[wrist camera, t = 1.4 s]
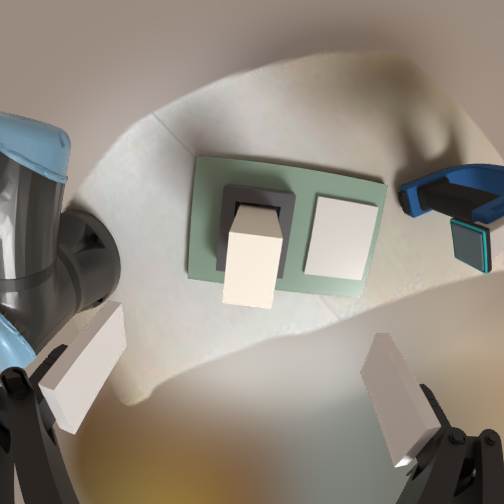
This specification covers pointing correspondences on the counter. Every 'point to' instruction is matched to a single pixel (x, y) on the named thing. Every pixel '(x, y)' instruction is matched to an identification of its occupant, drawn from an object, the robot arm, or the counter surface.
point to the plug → (252, 256)
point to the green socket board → (289, 223)
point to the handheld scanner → (464, 208)
